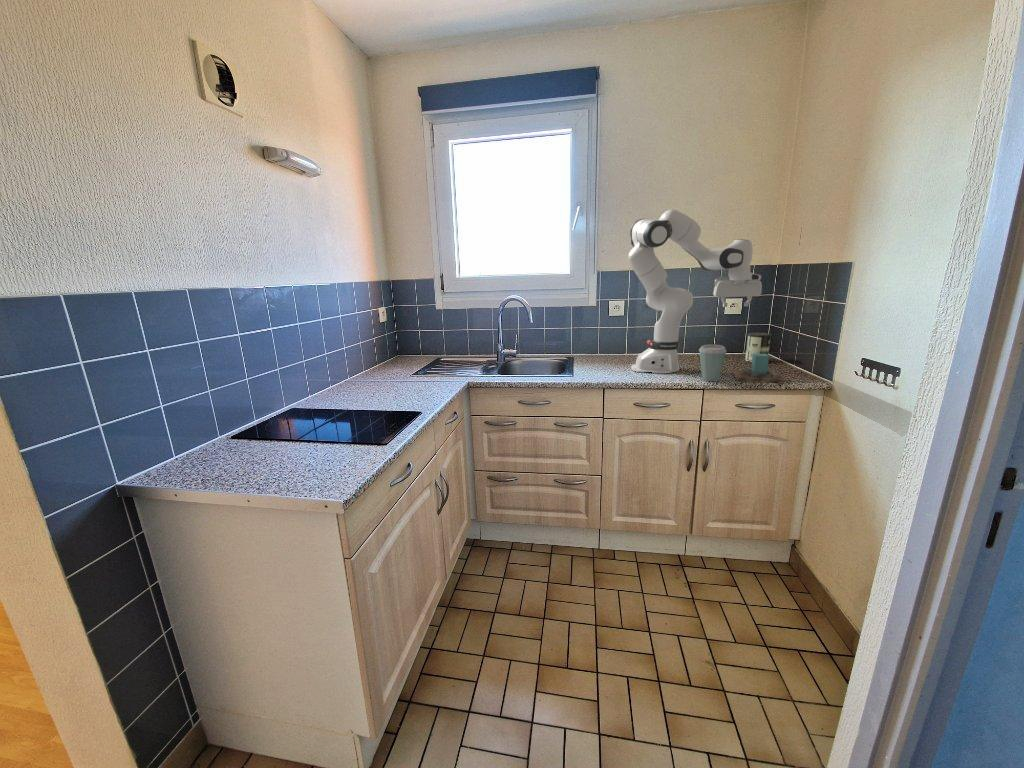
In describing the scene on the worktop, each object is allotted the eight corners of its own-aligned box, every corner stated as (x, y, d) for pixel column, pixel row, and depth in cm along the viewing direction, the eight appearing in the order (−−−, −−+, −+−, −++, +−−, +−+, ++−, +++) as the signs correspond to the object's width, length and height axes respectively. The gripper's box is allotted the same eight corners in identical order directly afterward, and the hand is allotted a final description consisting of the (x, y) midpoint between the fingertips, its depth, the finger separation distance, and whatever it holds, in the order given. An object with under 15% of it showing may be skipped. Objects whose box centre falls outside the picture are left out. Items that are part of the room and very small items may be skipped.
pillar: (753, 376, 176) (755, 355, 174) (750, 373, 181) (753, 353, 178) (766, 376, 175) (769, 356, 172) (763, 373, 179) (766, 353, 177)
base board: (738, 381, 175) (738, 374, 174) (732, 373, 187) (732, 367, 186) (786, 383, 169) (787, 376, 169) (777, 375, 181) (778, 369, 181)
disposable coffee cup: (722, 384, 171) (726, 349, 167) (694, 381, 176) (698, 347, 172) (723, 378, 180) (727, 344, 176) (697, 376, 185) (700, 343, 181)
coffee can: (765, 359, 213) (769, 332, 210) (769, 363, 204) (773, 335, 200) (743, 358, 217) (746, 331, 213) (746, 362, 208) (749, 334, 204)
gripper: (717, 277, 188) (714, 307, 191) (765, 275, 185) (761, 306, 188) (712, 277, 194) (710, 306, 197) (758, 275, 191) (755, 305, 194)
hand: (735, 306), depth 193 cm, fingers open, 8 cm apart
